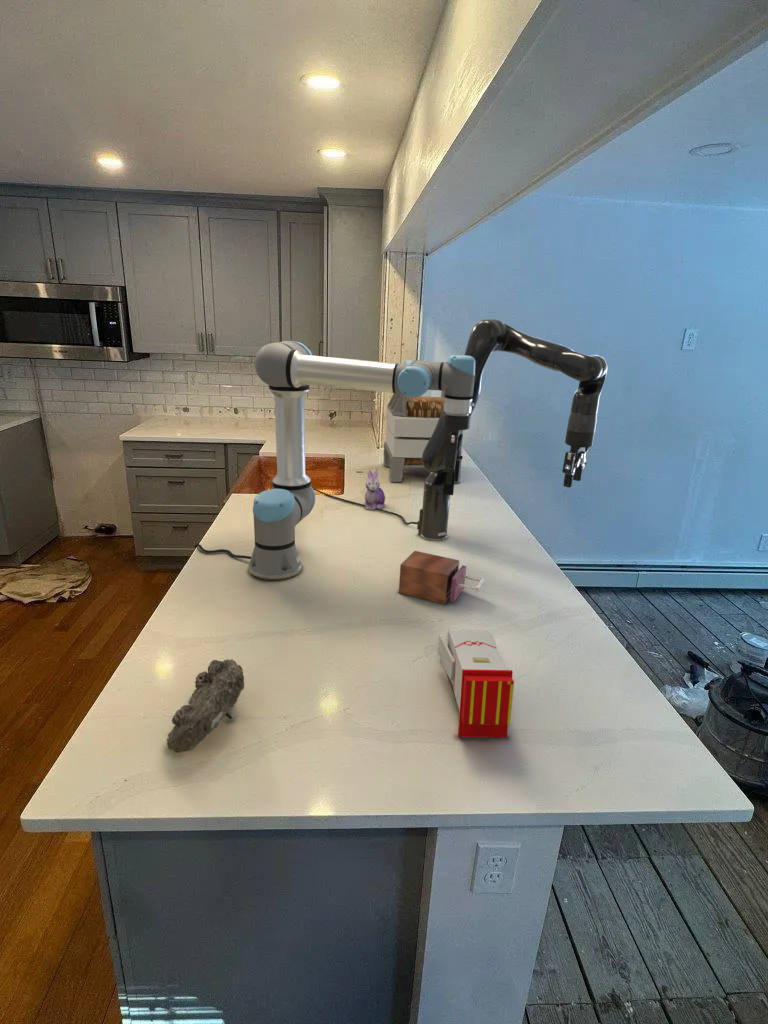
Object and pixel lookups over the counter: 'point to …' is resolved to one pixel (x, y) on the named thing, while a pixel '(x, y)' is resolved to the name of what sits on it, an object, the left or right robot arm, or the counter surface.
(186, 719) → the fossil
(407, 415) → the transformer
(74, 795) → the counter surface
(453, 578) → the drawer
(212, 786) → the counter surface
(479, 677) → the toy
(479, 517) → the counter surface
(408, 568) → the cabinet
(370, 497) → the figurine
